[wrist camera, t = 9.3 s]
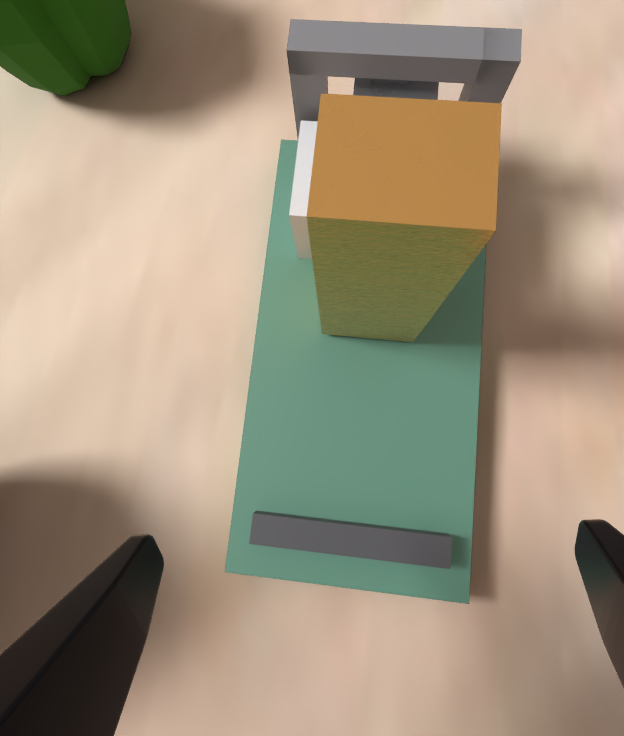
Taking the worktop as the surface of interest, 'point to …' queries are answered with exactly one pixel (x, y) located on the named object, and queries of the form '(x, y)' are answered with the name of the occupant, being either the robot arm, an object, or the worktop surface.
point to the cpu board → (362, 365)
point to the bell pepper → (62, 41)
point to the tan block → (398, 203)
